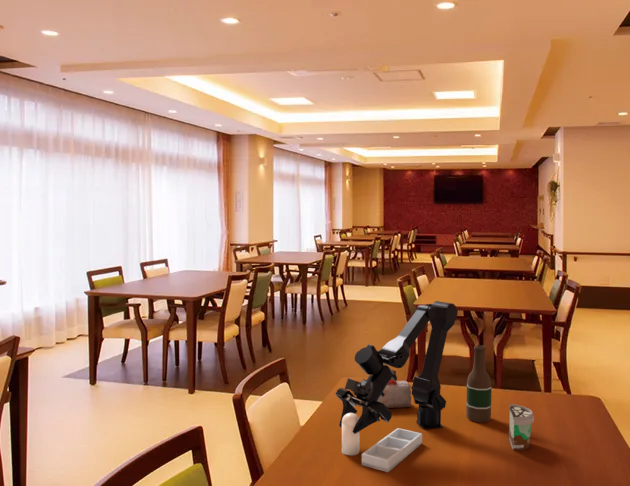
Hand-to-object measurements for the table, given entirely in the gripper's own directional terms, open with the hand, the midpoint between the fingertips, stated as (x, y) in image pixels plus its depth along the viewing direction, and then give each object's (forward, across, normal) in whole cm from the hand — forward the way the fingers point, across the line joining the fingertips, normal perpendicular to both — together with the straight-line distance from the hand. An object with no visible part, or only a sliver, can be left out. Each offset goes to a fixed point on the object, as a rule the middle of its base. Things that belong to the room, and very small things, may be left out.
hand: (346, 429), depth 162 cm
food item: (-22, -20, +31) cm, 43 cm away
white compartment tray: (-2, +8, +12) cm, 15 cm away
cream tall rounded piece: (+4, 0, +6) cm, 7 cm away
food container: (-26, +27, +36) cm, 52 cm away
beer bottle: (-32, +6, +41) cm, 52 cm away
